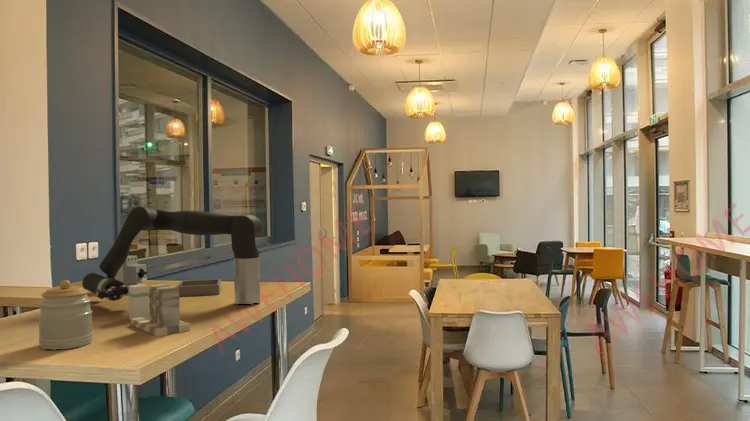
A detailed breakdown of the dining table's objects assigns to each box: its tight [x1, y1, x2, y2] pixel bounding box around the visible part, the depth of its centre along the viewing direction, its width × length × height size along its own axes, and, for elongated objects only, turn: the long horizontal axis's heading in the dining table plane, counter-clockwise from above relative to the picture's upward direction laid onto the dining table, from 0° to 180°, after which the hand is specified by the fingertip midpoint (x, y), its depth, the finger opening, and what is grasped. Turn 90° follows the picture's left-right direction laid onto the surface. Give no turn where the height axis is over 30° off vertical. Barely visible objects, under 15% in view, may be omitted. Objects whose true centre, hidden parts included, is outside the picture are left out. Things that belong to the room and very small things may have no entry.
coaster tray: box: [175, 278, 222, 297], centre depth 235 cm, size 17×17×4 cm
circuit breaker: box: [115, 255, 148, 286], centre depth 241 cm, size 8×14×15 cm, turn 78°
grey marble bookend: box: [130, 283, 191, 337], centre depth 170 cm, size 20×10×13 cm, turn 43°
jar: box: [37, 279, 94, 351], centre depth 151 cm, size 13×13×18 cm
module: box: [128, 283, 149, 320], centre depth 183 cm, size 5×5×11 cm
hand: (126, 294), depth 191 cm, fingers open, 8 cm apart
